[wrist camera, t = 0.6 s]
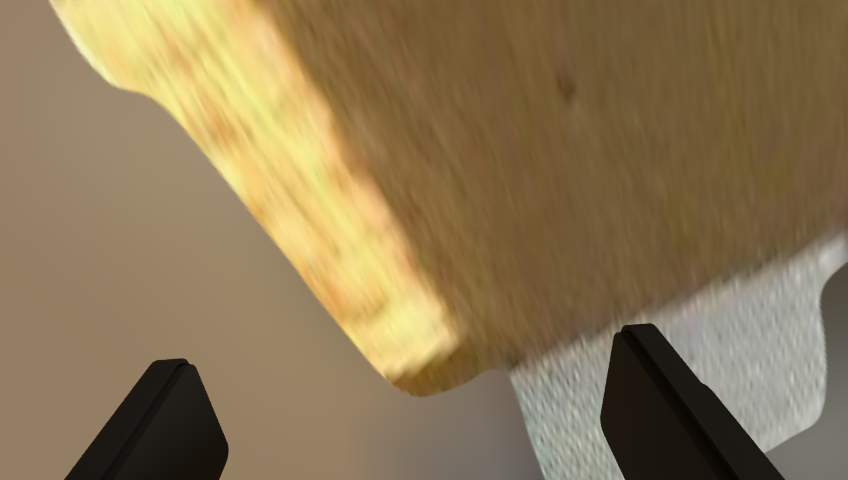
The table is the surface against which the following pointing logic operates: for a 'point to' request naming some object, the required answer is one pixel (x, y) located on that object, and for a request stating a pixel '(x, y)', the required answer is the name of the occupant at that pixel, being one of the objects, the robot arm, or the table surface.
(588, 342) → the table surface
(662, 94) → the table surface
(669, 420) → the robot arm
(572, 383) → the table surface
